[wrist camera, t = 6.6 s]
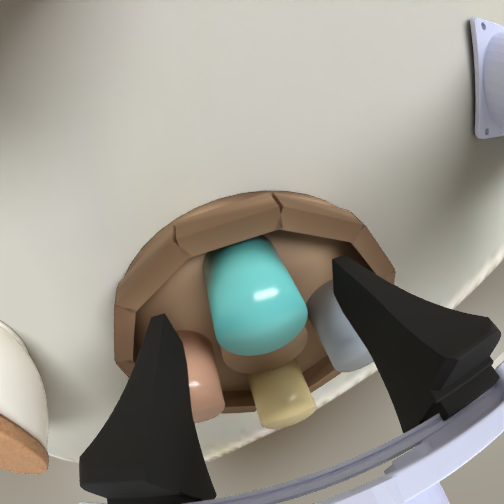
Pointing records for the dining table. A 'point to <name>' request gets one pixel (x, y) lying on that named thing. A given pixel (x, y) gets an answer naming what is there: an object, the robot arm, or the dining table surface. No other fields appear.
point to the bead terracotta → (202, 376)
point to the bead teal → (252, 297)
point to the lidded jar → (21, 408)
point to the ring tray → (194, 289)
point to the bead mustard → (281, 396)
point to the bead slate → (336, 331)
